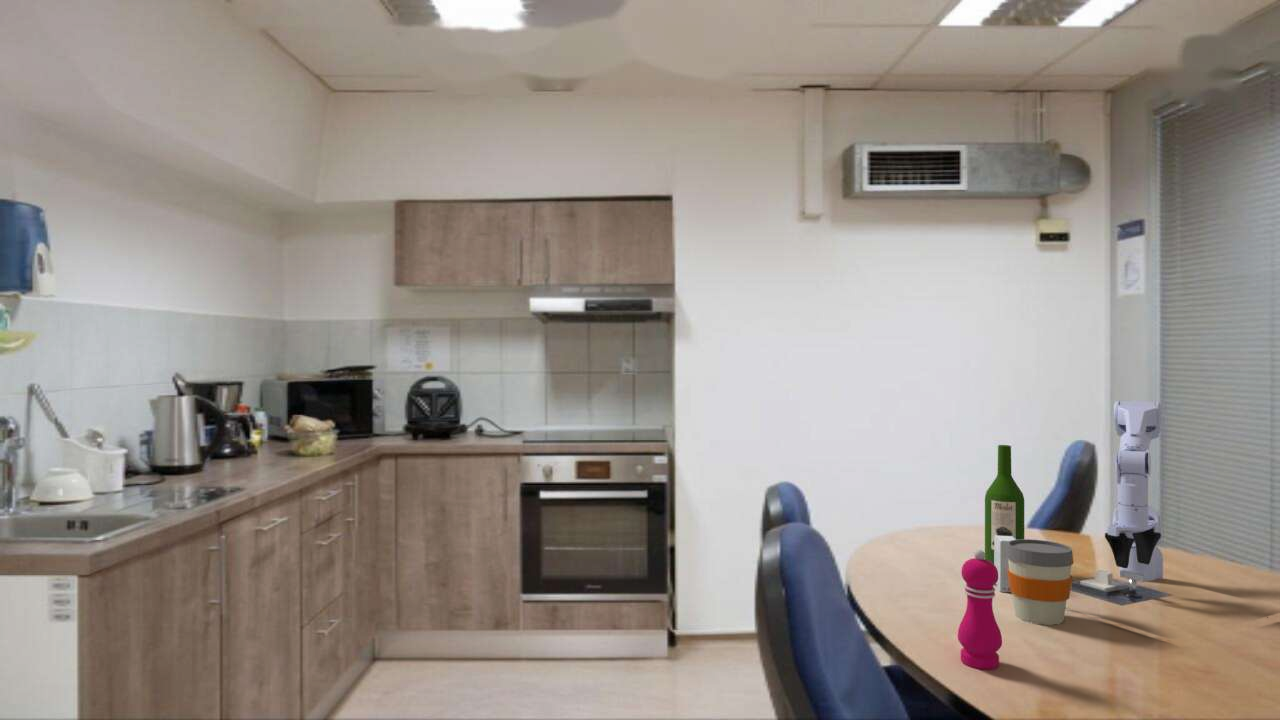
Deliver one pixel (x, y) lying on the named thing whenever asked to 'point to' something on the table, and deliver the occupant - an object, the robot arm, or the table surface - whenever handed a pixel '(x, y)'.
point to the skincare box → (1002, 561)
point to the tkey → (1130, 580)
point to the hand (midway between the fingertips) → (1132, 565)
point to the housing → (1118, 593)
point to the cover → (1101, 581)
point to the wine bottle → (1003, 505)
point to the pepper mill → (979, 615)
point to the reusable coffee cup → (1039, 579)
